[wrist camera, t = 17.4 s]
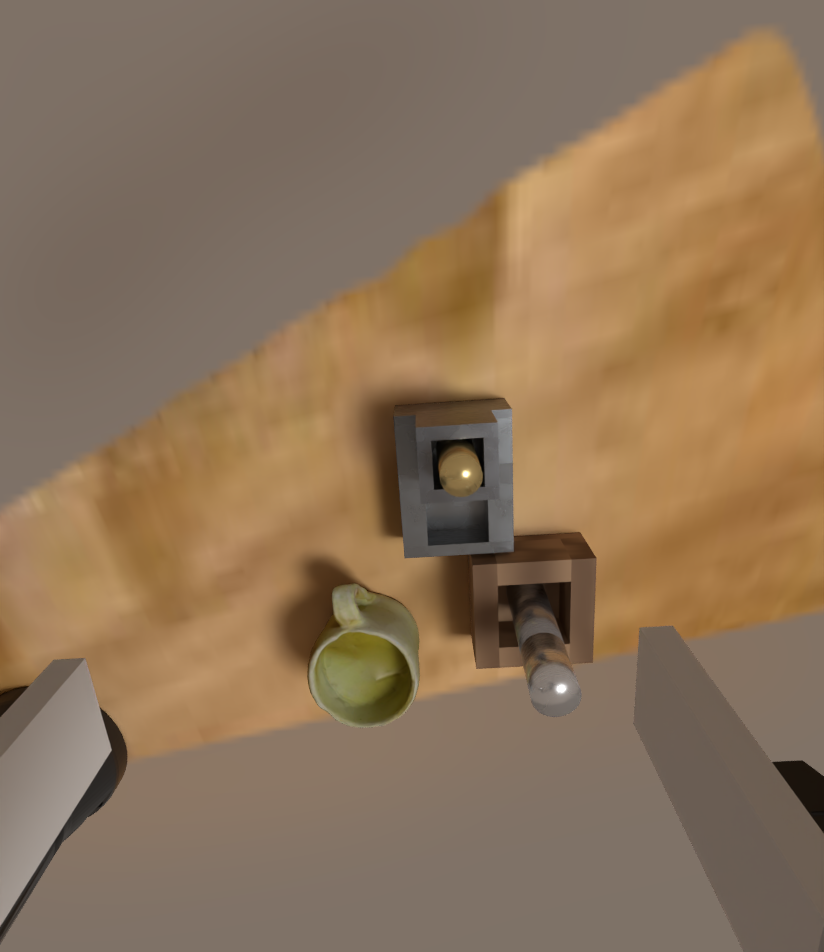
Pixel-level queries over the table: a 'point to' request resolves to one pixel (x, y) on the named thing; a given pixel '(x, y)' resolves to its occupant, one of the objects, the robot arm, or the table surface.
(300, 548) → the table surface
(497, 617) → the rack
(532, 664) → the brushed metal rod
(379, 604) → the mug
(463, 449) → the yellow capsule
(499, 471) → the block
